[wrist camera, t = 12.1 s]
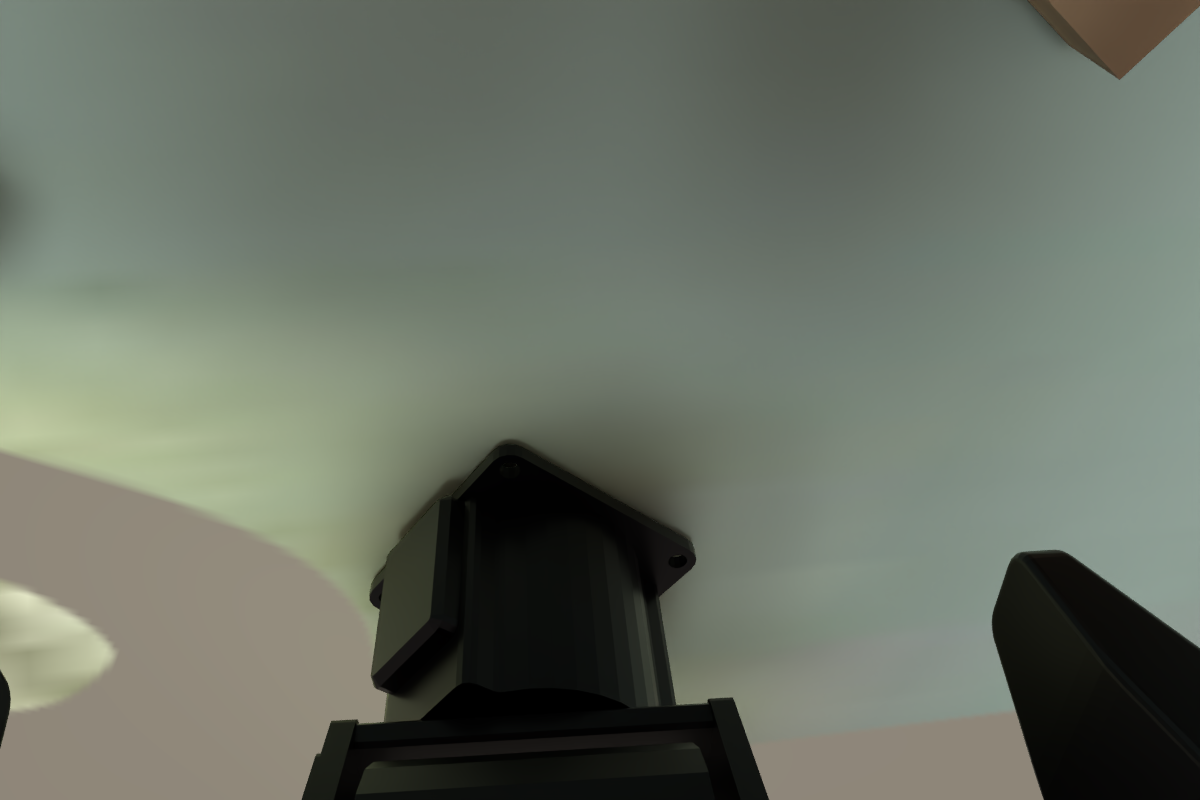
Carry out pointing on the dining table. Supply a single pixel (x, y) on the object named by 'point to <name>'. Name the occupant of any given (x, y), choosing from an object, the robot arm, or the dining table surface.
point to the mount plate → (1114, 27)
